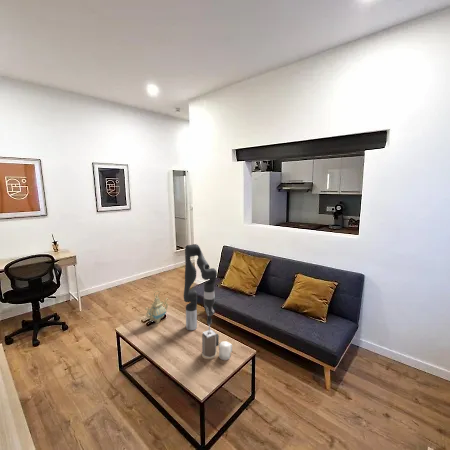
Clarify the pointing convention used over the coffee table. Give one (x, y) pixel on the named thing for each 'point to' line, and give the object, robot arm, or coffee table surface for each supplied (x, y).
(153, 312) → the teapot
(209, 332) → the plunger
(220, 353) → the mug
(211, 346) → the carafe
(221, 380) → the coffee table surface
